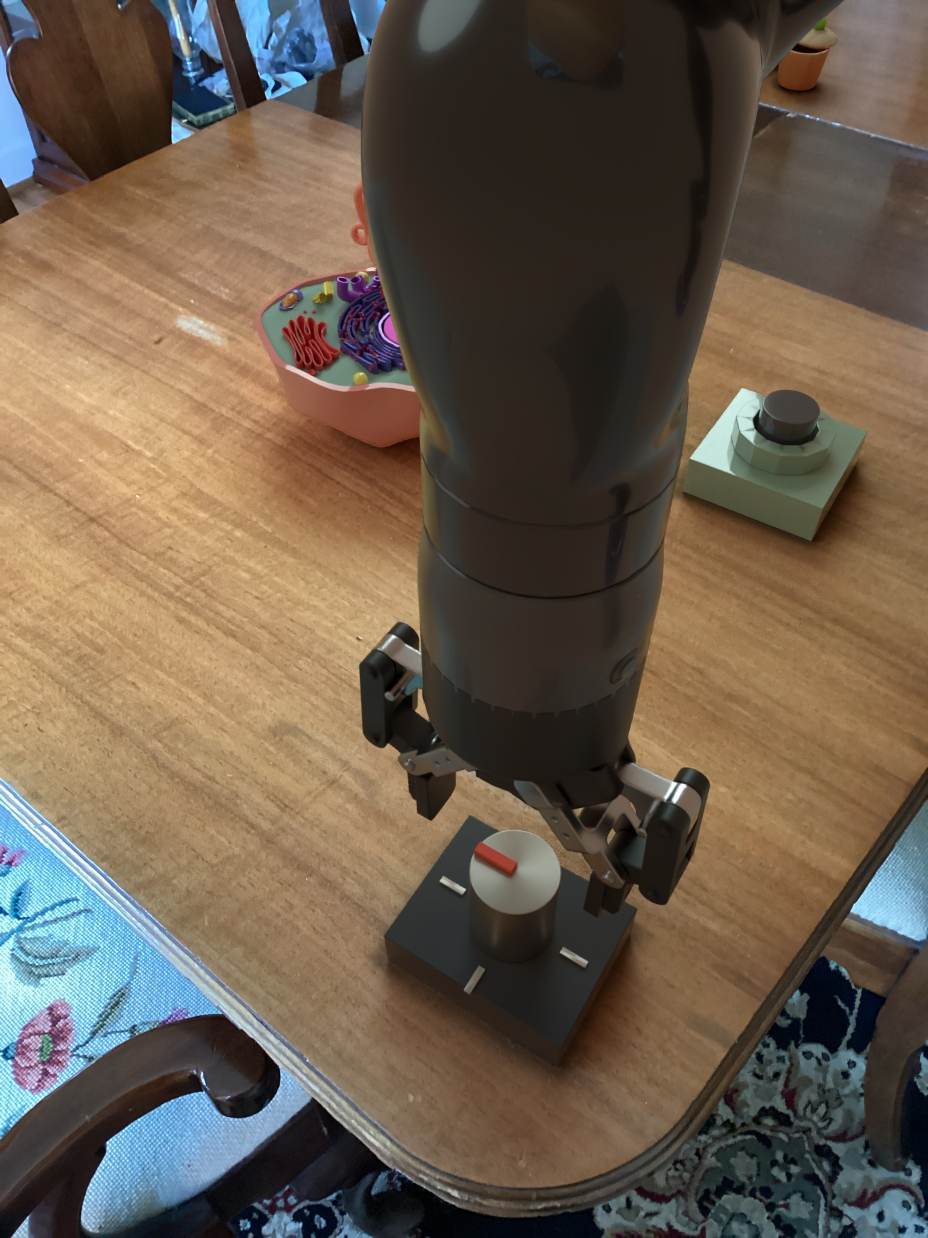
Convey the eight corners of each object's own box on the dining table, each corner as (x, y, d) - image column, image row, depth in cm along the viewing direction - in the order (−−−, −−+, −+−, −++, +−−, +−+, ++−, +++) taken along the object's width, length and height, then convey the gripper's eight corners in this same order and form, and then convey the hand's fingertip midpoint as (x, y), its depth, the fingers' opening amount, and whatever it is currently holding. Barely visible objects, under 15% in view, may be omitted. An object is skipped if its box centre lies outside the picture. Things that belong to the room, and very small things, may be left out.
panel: (632, 929, 52) (640, 903, 50) (554, 1072, 48) (559, 1050, 45) (471, 838, 56) (471, 810, 54) (385, 962, 51) (380, 937, 49)
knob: (569, 909, 50) (578, 854, 46) (527, 979, 48) (532, 929, 43) (497, 867, 51) (499, 811, 47) (453, 934, 49) (451, 881, 45)
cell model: (328, 332, 89) (312, 210, 80) (540, 383, 83) (548, 258, 75) (228, 446, 78) (198, 320, 70) (463, 512, 73) (461, 384, 65)
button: (820, 423, 72) (828, 400, 71) (801, 453, 70) (808, 430, 69) (768, 405, 74) (774, 382, 72) (747, 434, 72) (753, 411, 70)
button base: (856, 463, 77) (875, 410, 73) (811, 541, 71) (830, 489, 67) (733, 420, 80) (746, 367, 76) (682, 491, 75) (693, 438, 71)
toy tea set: (610, 82, 123) (619, -5, 116) (625, 36, 133) (634, -48, 126) (827, 100, 120) (850, 10, 112) (826, 51, 129) (847, -35, 122)
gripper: (788, 628, 32) (697, 863, 44) (419, 467, 37) (430, 718, 49) (690, 804, 28) (620, 1008, 40) (289, 595, 33) (337, 834, 45)
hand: (515, 848), depth 44 cm, fingers open, 8 cm apart
